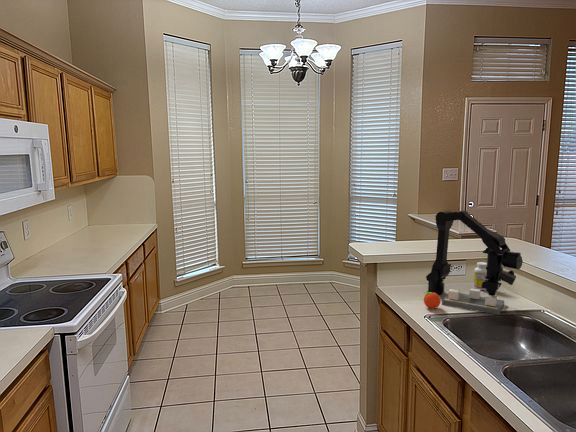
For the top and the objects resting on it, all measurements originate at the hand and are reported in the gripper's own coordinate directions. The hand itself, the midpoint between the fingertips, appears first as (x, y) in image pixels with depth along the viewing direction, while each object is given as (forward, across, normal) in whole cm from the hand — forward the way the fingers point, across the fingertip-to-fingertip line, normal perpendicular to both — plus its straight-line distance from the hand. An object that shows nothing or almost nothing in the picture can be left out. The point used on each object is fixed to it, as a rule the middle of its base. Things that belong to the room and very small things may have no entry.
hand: (492, 299), depth 186 cm
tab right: (+1, -3, 0) cm, 3 cm away
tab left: (+1, -3, +15) cm, 15 cm away
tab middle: (+1, +3, +8) cm, 8 cm away
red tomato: (+4, -14, +22) cm, 27 cm away
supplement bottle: (+4, +26, +9) cm, 27 cm away
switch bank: (+4, 0, +8) cm, 8 cm away
